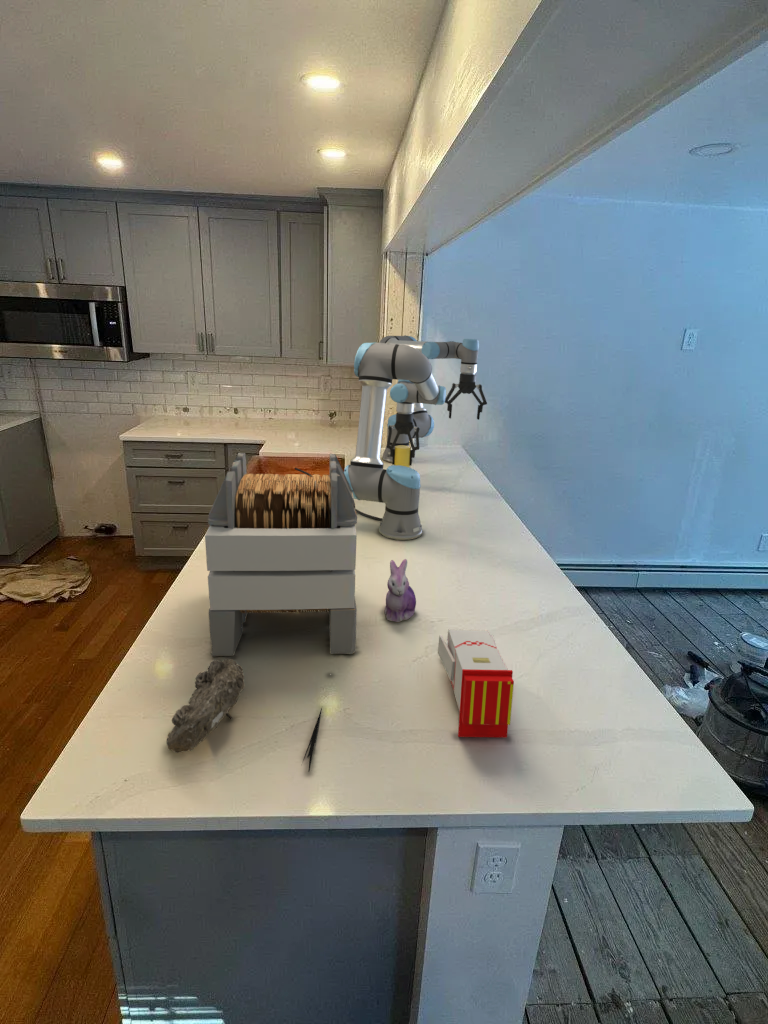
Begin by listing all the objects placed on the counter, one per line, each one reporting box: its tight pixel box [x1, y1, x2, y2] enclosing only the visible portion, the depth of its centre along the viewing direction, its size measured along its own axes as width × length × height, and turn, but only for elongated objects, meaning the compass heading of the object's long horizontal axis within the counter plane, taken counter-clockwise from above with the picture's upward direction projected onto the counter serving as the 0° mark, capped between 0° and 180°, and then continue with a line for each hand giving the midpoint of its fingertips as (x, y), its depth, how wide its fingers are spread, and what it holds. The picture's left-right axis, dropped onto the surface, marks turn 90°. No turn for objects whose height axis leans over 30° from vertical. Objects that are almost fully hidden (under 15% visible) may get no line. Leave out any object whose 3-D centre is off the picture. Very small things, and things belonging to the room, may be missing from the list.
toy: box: [437, 628, 515, 738], centre depth 117 cm, size 12×13×30 cm
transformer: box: [204, 452, 358, 658], centre depth 136 cm, size 34×33×41 cm
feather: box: [301, 673, 332, 771], centre depth 108 cm, size 2×28×2 cm
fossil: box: [166, 658, 245, 754], centre depth 106 cm, size 22×10×15 cm
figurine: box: [384, 558, 417, 623], centre depth 145 cm, size 9×10×15 cm
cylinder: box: [394, 445, 412, 468], centre depth 252 cm, size 7×7×12 cm
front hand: (401, 464), depth 252 cm, fingers closed on cylinder, 7 cm apart
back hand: (463, 418), depth 272 cm, fingers open, 13 cm apart
